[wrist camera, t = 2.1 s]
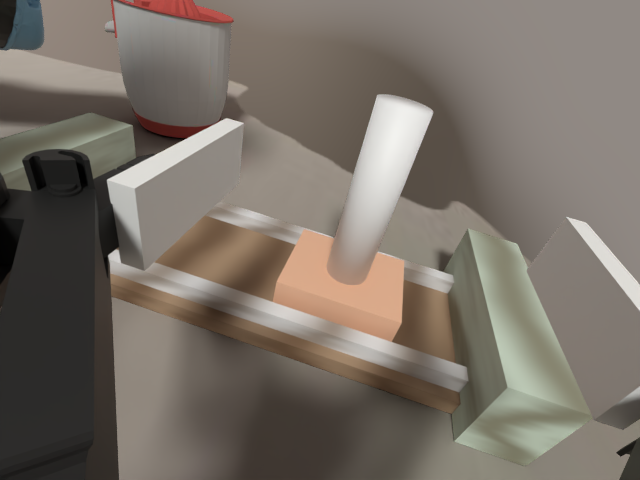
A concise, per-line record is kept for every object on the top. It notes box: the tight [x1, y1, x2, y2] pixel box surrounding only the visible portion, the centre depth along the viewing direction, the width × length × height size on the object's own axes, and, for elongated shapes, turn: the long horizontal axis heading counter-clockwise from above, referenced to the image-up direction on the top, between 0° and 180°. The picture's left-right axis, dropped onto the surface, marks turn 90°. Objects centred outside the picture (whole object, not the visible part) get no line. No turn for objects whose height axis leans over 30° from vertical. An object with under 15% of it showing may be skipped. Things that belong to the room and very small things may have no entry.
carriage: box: [273, 94, 433, 342], centre depth 26 cm, size 10×8×16 cm
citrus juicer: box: [105, 0, 233, 139], centre depth 51 cm, size 16×17×20 cm
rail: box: [0, 112, 593, 466], centre depth 30 cm, size 48×18×7 cm, turn 77°
